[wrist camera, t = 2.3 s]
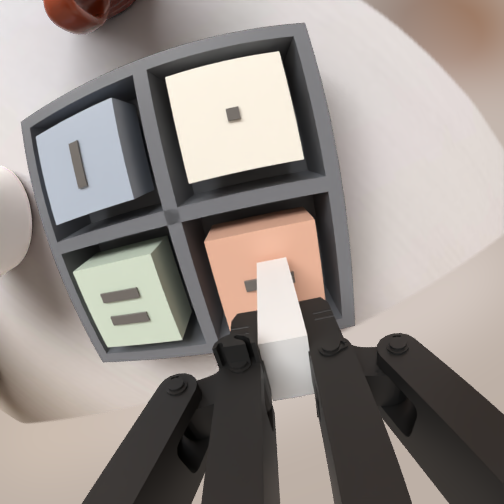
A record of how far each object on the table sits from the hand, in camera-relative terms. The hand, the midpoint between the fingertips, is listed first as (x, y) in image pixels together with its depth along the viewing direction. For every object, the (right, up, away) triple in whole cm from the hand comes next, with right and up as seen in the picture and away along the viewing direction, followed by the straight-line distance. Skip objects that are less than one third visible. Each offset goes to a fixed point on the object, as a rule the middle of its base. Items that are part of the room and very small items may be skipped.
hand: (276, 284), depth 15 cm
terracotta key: (0, +1, +4) cm, 4 cm away
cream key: (-2, +9, +1) cm, 10 cm away
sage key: (-9, 0, +4) cm, 10 cm away
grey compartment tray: (-5, +5, +5) cm, 9 cm away
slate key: (-11, +7, +1) cm, 13 cm away
